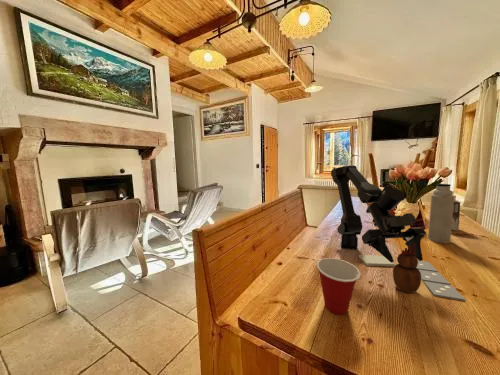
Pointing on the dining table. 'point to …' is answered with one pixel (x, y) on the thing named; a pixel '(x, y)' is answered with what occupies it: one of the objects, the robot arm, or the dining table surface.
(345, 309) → the plastic cup
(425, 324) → the dining table surface
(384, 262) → the folded napkin
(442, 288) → the pad
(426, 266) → the pad
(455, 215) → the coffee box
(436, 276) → the pad
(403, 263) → the wooden figurine
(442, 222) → the thermos bottle
